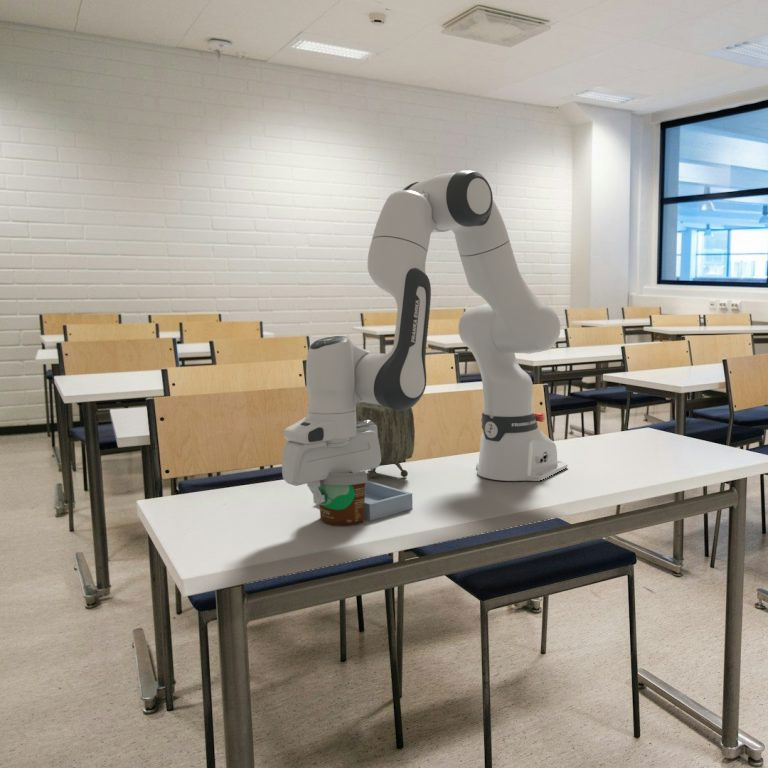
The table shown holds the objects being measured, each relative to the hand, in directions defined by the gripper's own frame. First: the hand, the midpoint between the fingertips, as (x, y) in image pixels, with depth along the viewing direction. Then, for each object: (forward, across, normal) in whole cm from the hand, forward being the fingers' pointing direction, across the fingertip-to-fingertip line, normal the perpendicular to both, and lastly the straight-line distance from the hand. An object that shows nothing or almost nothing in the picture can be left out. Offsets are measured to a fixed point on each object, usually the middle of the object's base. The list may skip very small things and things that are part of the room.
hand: (335, 499), depth 128 cm
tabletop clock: (+4, -27, -20) cm, 34 cm away
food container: (+4, 0, 0) cm, 4 cm away
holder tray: (+4, -10, -4) cm, 12 cm away
